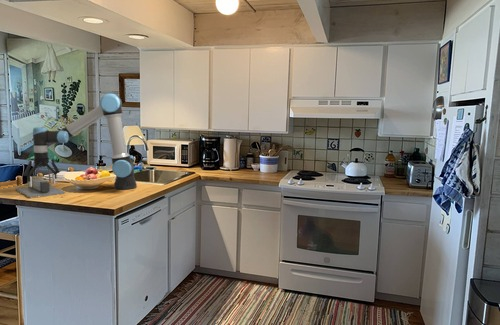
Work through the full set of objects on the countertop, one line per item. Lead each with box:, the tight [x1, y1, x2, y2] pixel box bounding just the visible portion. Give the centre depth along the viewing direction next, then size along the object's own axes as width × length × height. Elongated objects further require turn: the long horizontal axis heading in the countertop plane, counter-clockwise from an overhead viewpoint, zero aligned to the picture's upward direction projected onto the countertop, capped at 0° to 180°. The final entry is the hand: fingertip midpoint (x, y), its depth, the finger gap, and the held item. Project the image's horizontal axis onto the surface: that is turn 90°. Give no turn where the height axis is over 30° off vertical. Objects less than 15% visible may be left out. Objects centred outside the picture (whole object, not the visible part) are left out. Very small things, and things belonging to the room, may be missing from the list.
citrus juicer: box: [32, 163, 52, 184], centre depth 255 cm, size 11×10×30 cm
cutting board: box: [15, 184, 66, 199], centre depth 231 cm, size 30×20×1 cm, turn 47°
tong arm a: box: [36, 177, 50, 192], centre depth 230 cm, size 19×2×6 cm, turn 46°
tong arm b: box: [32, 178, 46, 192], centre depth 228 cm, size 19×2×6 cm, turn 47°
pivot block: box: [27, 175, 42, 188], centre depth 238 cm, size 5×7×8 cm
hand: (42, 185), depth 227 cm, fingers open, 13 cm apart
